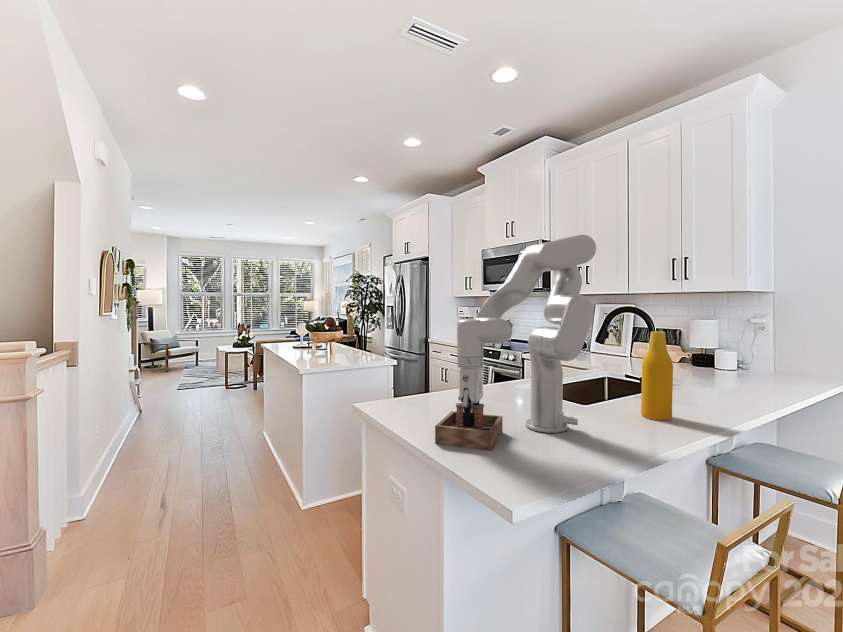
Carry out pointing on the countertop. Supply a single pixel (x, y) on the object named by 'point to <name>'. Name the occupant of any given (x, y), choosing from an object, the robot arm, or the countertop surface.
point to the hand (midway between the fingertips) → (470, 423)
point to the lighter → (477, 415)
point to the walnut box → (469, 432)
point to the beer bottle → (657, 380)
